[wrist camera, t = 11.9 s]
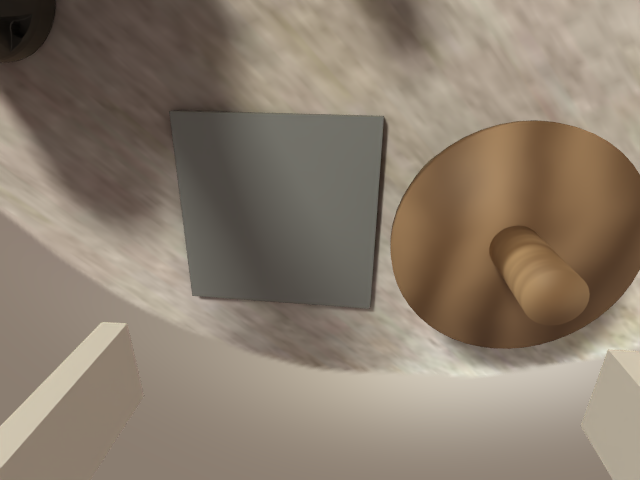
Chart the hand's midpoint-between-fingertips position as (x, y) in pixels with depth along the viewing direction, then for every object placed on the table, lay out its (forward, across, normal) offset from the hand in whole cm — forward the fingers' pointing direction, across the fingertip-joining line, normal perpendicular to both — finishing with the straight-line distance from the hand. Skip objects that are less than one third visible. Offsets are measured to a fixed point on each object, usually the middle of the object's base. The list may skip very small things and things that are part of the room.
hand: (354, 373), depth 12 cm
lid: (+23, +13, -6) cm, 27 cm away
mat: (+34, -9, -8) cm, 36 cm away
